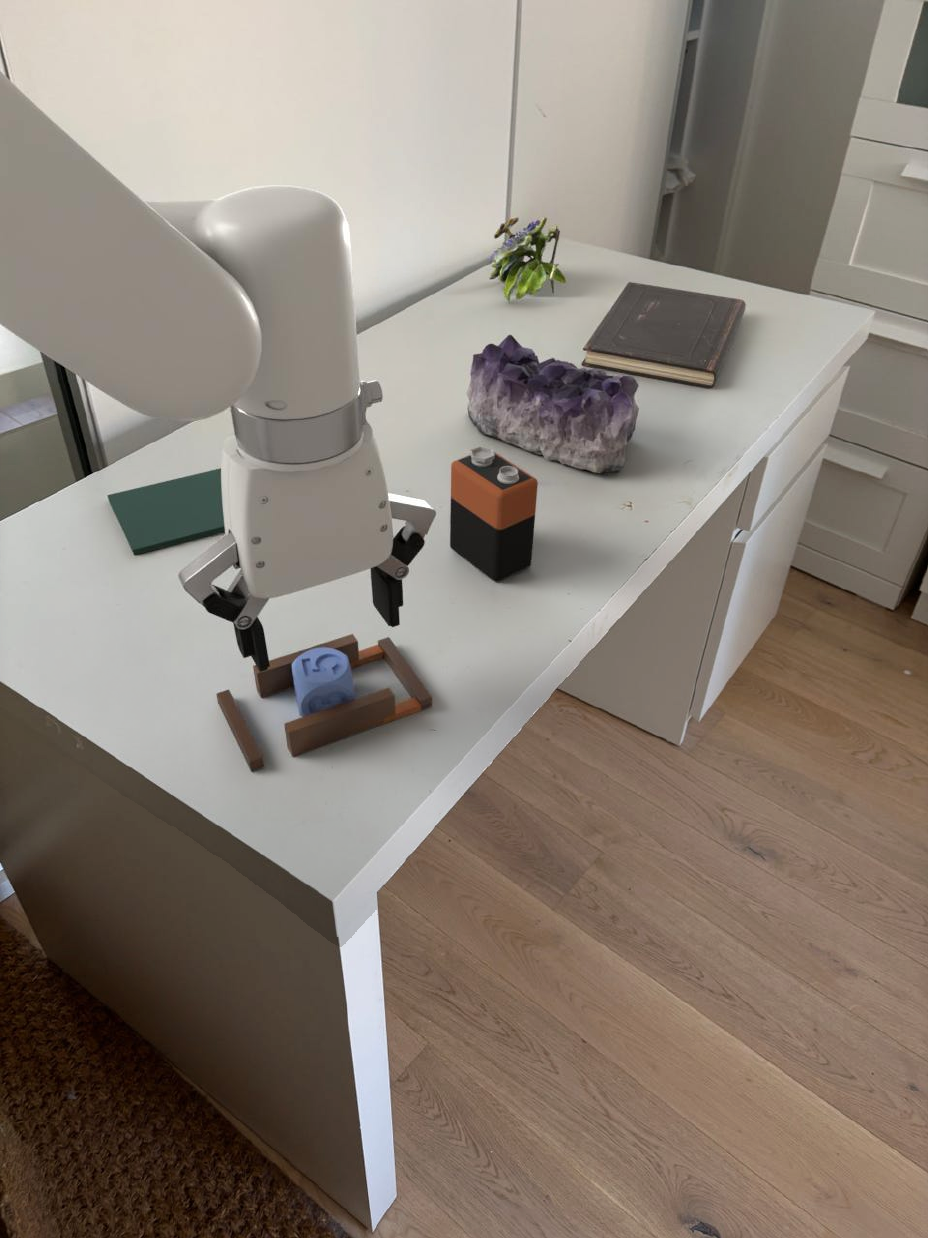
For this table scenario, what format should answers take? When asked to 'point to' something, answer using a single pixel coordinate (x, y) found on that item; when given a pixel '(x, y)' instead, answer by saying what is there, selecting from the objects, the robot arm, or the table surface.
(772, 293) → the table surface
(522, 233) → the passion flower
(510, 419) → the geode
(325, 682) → the decorative dice
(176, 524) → the mat
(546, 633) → the table surface
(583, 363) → the hardcover book
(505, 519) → the battery
